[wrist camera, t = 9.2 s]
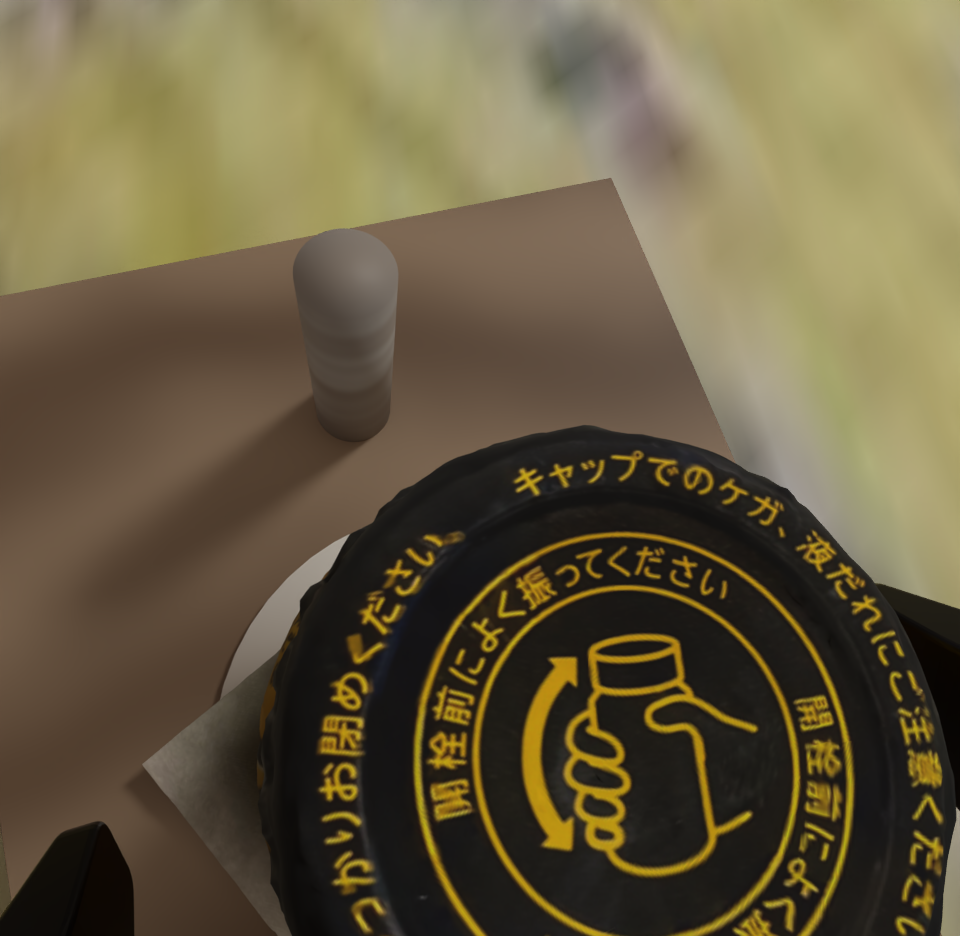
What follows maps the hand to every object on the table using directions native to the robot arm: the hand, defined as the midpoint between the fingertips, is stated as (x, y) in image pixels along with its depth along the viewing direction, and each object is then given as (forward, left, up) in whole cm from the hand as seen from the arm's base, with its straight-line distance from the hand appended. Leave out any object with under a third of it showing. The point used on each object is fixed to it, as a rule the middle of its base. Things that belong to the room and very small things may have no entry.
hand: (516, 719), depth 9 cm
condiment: (-1, +1, -8) cm, 9 cm away
